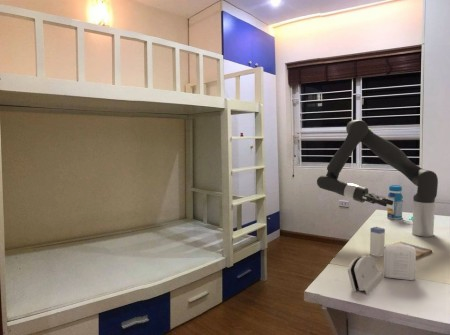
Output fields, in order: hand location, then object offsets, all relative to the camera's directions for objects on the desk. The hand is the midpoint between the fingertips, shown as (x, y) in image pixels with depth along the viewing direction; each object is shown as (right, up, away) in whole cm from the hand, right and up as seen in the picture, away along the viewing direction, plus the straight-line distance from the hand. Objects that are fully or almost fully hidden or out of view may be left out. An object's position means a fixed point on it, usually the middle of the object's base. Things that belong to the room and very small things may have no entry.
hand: (389, 203), depth 149 cm
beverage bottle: (+28, -14, +50) cm, 60 cm away
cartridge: (-10, -21, -9) cm, 25 cm away
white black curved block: (-27, -24, -35) cm, 50 cm away
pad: (+4, -20, -6) cm, 22 cm away
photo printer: (-13, -23, -32) cm, 41 cm away
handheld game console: (+44, -15, +48) cm, 67 cm away
